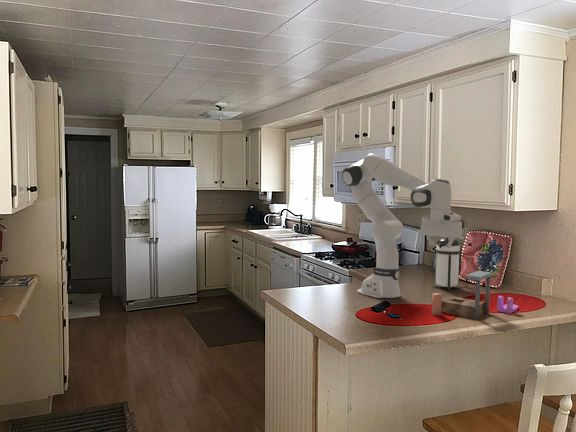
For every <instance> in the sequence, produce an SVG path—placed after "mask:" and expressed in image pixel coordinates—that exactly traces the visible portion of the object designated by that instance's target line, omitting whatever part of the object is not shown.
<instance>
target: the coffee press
mask: <svg viewBox="0 0 576 432" xmlns="http://www.w3.org/2000/svg"><path fill="white" fill-rule="evenodd" d="M448 242H449V240H448V237H439V238H438V239H437V241H436V242H435V246H436V248H435V268H434V269H435V270H434V273H435V274H434V282H433V284H432V286H434V285H435V286H434V288H436V287H438V286H439V287H443V288H446V290H447V291H451V288H454V287H458V286H459V287H458V289H461V288H462V287H461V284H459V282H460V280H459V279H460V275H461V271H462V251H461V250H460V247H461V243H460V241H459V239H458V238H454V241H453V243H452V247H451V248H447V247H446V244H448Z"/></svg>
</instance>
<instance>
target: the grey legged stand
mask: <svg viewBox="0 0 576 432" xmlns="http://www.w3.org/2000/svg"><path fill="white" fill-rule="evenodd" d="M491 277H492V272H489V271H481V270H477V271H474V272H470V273H468V274H466V275H465V279H466V280H474V281H475V297H474V300H475V316H474V318H473V319H475V320H480V316H479V304H480V300H481V299H480V298H481V281H482V280H485V295H484V297H485V298H484V302H485V313H484V314H485V315H489V314H490V298H491V294H490V293H491Z"/></svg>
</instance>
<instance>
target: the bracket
mask: <svg viewBox="0 0 576 432" xmlns="http://www.w3.org/2000/svg"><path fill="white" fill-rule="evenodd" d="M504 299H505V298H504V296H503V295H498V297H497V300H496V302H497V306H496V312H501V313H505V314H512V313H513V312H516V311H517V309H519V305H517V304H514V298H513V297H510V296H509V297H507V299H506V304H504V301H505V300H504Z"/></svg>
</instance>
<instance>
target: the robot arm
mask: <svg viewBox="0 0 576 432" xmlns="http://www.w3.org/2000/svg"><path fill="white" fill-rule="evenodd" d="M341 178H342V180H343V182H344V184H346V186H347V187H350V191H351V193H352V196H353V197H354V200H355V202H356V203H357V205H358V206H359V208H360V210H361V211H362V212H363V214H364V216H366V218H367V219H368V220H370V221H371V222H372V223H373V225H374V226H373V227H372V231H371V233H372V237H373V238H374V243H375V251H376V266H375V267H373V268H371V272H372V274H371V275H369V276H368V277H366V278H365V279H364V280H363V281H362V283H361V287H360V288H358V289H357V291H356V293H357V294H362V295H365V296H368V297H373V298H376V299H382V298H384V299H385V298H387V299H389V298H390V299H392V298H393V299H394V298H399V297H401V296H402V294H401V290H400V284H399V278H400V268H399V259H400V258H399V256H400V255H399V251H398V246H397V239H399V238H400V237H401V235H402V234H403V232H404V224H403V223H402V222H401V221H400V220H399V219H398V218H397V217H396V216H395V215H394V214H393V213H392V212H391V210H390V209H389V208H388V207H387V206H386V205H385V203H384V202H383V200H382V199H381V197H380V196H379V195H378V193H377V192H376V190H375V189H374V188H373V186H372V182H374V181H377V182H379V183H380V184H383V185H386V186H390V187H391V186H392V187H401V188H405V189H408V190H409V191H411V193H410V202H411V204H412V205H413V206H414V207H417V208H420V209H421V208H422V209H423V208H427V209H428V208H430V213H429V214H424V215H423V216H422V218H421V222H420V231H419V232H420V235H422V236H426V238H427V240H428V246H429V247H434V246H435V241H433V239H432V238H433V237H438V238H448V240H449V242H448V244H446V247H447V248H451V247H452V243H453V241H454V239H461V237H462V236H463V235H462V234H463V225H462V222H461V220H462V216H461V215H459V214H457V213H456V212H453V211H452V206H451V201H452V185H451V183H450V182H449V181H448V180H447V179H442V178H441V179H440V178H433V179H432V180H431V181H429V182H428V183H426V182H425V181H422V180H420V179H419V178H417V177H415V176H413V175H411V174H410V173H408V172H407V171H406V170H404V169H402V168H401V167H399V166H398V165H396V164H395V163H393V162H392V161H390V160H389V159H388V158H385V157H383V156H382V155H379V154H376V153H373V152H372V153H369V154H367V155H366V156H365V157H364V158H362V159H361V160H358V161H357V162H354V163H353V164H350V165H348V166H347V167H345V168H344V169H343V170H342V173H341Z"/></svg>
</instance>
